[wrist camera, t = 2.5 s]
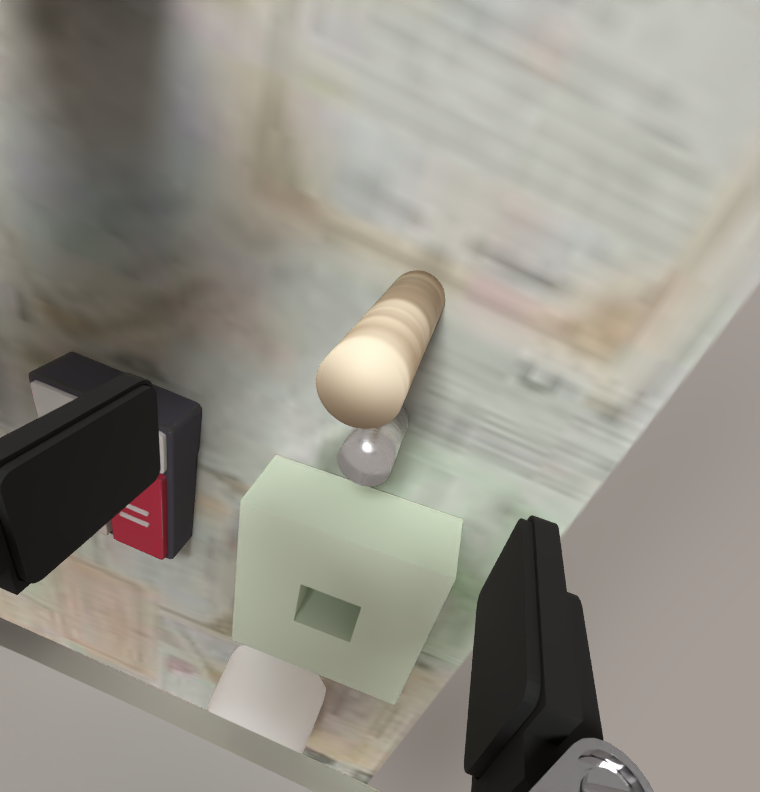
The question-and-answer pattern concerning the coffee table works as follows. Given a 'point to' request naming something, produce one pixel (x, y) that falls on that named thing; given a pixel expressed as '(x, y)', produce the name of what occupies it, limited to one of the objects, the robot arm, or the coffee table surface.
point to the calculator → (179, 443)
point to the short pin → (372, 451)
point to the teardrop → (269, 697)
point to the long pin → (381, 353)
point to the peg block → (340, 576)
